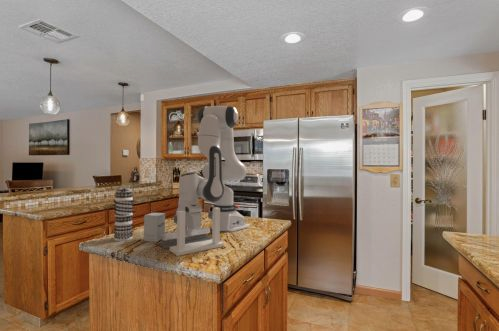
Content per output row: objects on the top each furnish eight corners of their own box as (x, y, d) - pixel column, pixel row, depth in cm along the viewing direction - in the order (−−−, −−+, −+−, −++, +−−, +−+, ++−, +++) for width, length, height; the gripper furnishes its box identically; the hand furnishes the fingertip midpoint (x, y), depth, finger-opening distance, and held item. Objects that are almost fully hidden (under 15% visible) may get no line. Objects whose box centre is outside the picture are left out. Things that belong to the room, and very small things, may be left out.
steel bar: (208, 232, 134) (208, 227, 134) (210, 232, 133) (210, 227, 133) (161, 239, 119) (161, 234, 119) (163, 240, 118) (163, 235, 118)
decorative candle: (120, 242, 124) (121, 189, 124) (109, 239, 129) (109, 188, 129) (137, 237, 132) (138, 188, 132) (126, 235, 137) (126, 187, 137)
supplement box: (157, 242, 126) (157, 215, 126) (143, 241, 127) (143, 214, 127) (165, 238, 133) (165, 213, 133) (151, 237, 134) (152, 212, 134)
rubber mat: (204, 236, 137) (204, 234, 137) (212, 240, 131) (212, 238, 131) (158, 244, 122) (158, 242, 122) (164, 248, 116) (164, 247, 116)
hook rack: (213, 241, 128) (214, 205, 128) (223, 246, 121) (223, 208, 121) (169, 250, 114) (170, 209, 114) (177, 255, 108) (178, 213, 108)
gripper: (172, 204, 132) (172, 231, 132) (191, 209, 116) (190, 241, 116) (184, 203, 136) (184, 230, 136) (204, 208, 120) (203, 239, 120)
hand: (187, 235), depth 126 cm, fingers closed on steel bar, 2 cm apart
